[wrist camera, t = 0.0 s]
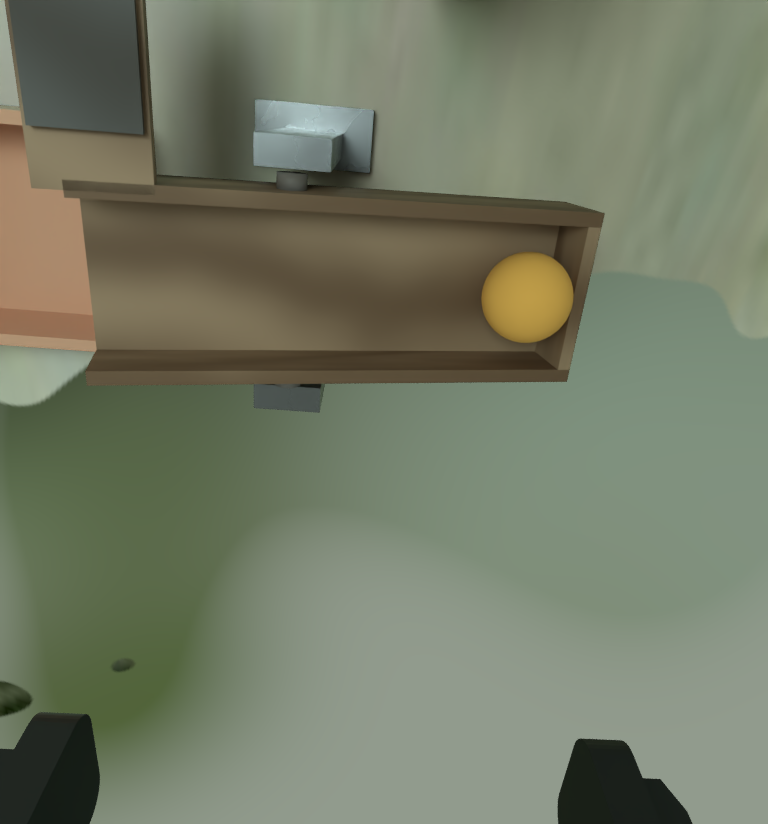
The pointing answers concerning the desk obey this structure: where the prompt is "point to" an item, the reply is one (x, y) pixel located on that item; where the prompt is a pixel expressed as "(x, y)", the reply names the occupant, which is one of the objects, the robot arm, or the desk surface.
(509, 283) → the ball
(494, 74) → the desk surface
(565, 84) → the desk surface
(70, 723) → the robot arm
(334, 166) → the lever stand
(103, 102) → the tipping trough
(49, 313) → the cup
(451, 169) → the desk surface
